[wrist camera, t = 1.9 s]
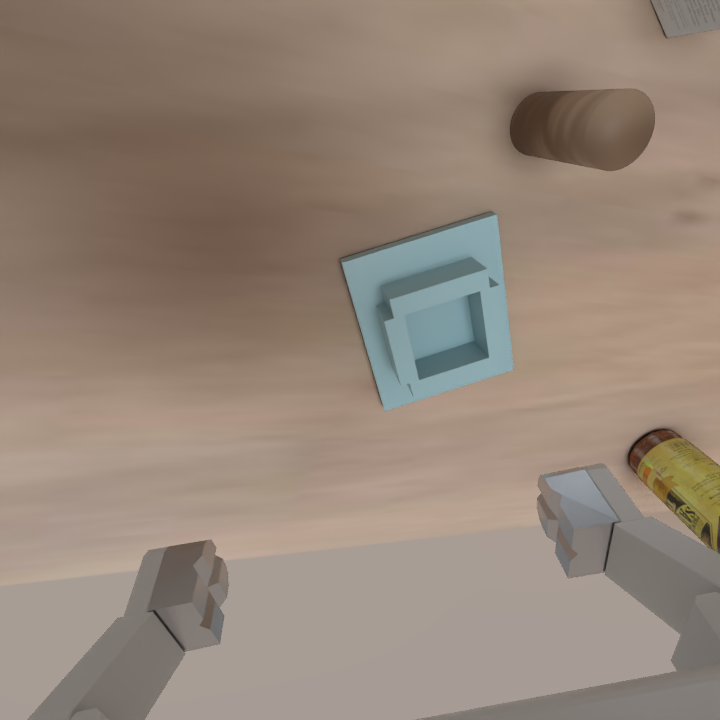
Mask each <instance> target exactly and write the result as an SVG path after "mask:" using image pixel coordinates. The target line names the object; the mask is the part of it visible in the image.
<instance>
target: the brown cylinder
mask: <svg viewBox="0 0 720 720" xmlns="http://www.w3.org/2000/svg"><path fill="white" fill-rule="evenodd" d="M654 124H655V112H654V107H653V104H652V102H651V100H650V99H649V97H648V96H647V95H646V94H645V93H643V92H642V91H640V90H637V89H631V88H630V89H606V90H581V91H557V92H538V93H534V94H532V95H530V96H528V97H527V98H525V99H524V100H523V101H522V102H521V103H520V104H519V106H518V107H517V108H516V110H515V112H514V114H513V117H512V120H511V125H510V135H511V140H512V142H513V144H514V146H515V147H516V149H517V150H518V151H519V152H521V153H523V154H525V155H529V156H534V157H540V158H545V159H550V160H555V161H560V162H565V163H570V164H575V165H580V166H585V167H590V168H595V169H600V170H605V171H615V170H619V169H622V168H624V167H626V166H628V165H629V164H631V163H632V162H634V161H635V160H636V159H637V158H638V157H639V156H640V155H641V153H642V152H643V151H644V149H645V148H646V146H647V145H648V143H649V141H650V138H651V136H652V133H653V129H654Z"/></svg>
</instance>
